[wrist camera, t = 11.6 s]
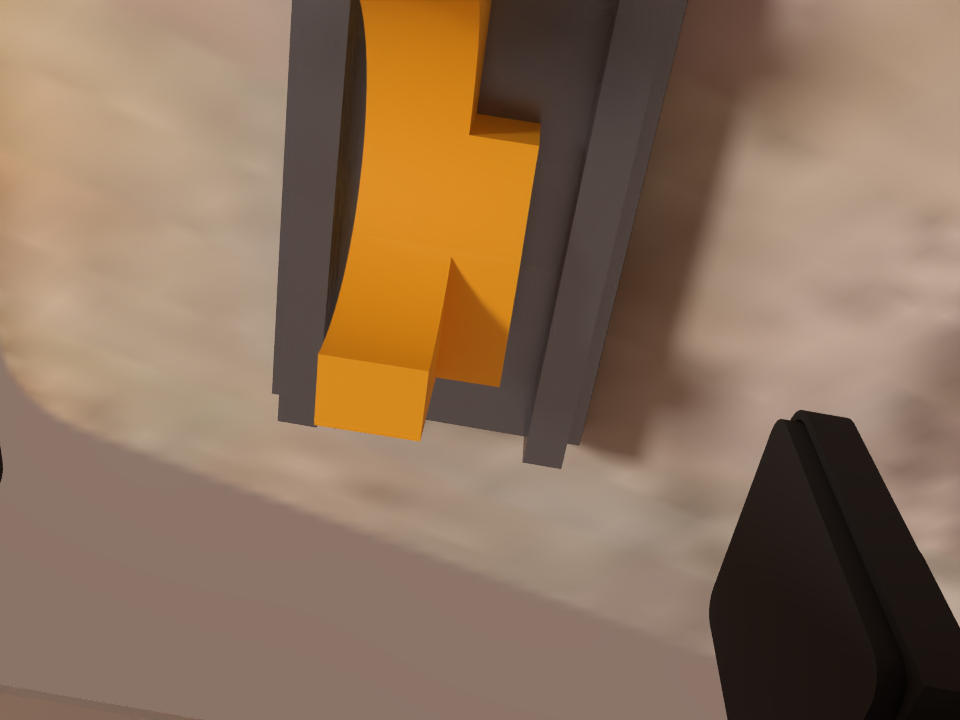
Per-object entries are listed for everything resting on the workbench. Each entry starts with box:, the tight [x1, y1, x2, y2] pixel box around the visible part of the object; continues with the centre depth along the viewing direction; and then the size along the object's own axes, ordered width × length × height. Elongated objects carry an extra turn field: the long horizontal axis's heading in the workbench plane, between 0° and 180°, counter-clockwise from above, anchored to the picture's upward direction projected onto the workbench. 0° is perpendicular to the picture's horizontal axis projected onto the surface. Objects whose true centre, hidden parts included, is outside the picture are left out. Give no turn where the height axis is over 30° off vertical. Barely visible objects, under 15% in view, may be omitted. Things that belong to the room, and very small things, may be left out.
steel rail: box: [272, 0, 688, 469], centre depth 25 cm, size 10×18×2 cm, turn 171°
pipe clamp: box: [314, 0, 541, 441], centre depth 22 cm, size 12×4×6 cm, turn 172°
